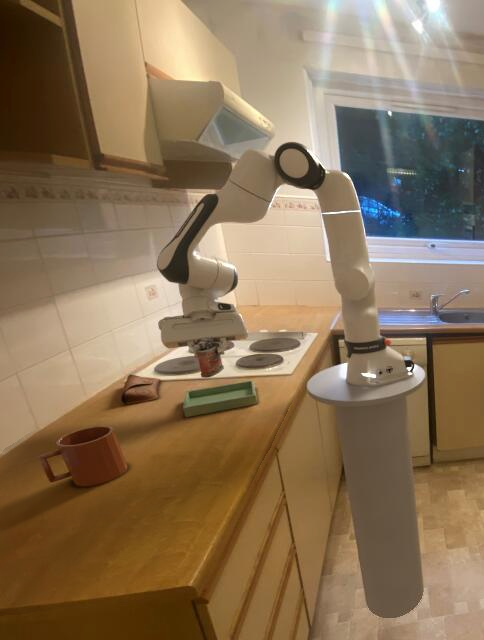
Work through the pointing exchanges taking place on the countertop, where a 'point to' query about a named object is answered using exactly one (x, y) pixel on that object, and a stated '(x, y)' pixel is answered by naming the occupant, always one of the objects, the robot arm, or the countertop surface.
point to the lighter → (209, 358)
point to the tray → (219, 398)
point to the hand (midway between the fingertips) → (210, 355)
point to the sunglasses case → (139, 389)
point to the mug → (88, 456)
